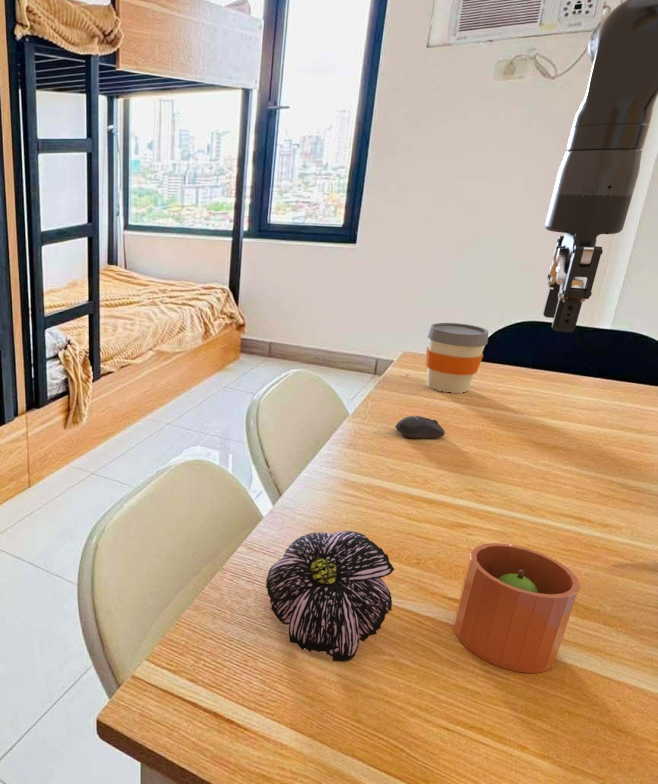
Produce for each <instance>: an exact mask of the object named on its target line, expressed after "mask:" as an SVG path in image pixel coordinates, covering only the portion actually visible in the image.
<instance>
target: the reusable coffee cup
mask: <svg viewBox="0 0 658 784" xmlns="http://www.w3.org/2000/svg"><path fill="white" fill-rule="evenodd" d="M427 338H428V346H427V347H426V353H425V354H426V355H425V366H426V367H427V369H426V371H427V372H426V386H427V387H428V388H429V387H430V389H431V388H432V390H434V389H435V390H434V391H437V390H438V392H441V391H443V392H442V393H447V392H451V393H450V394H464V393H463V392H465V393H467V392H468V390H469V389H470V385H471V384H472V381H473V378H474V375H475V374H477V373H478V370H479V367H480V366H481V362H482V360H483V358H484V353H483V352H484V349H485V347H486V345H488V341H489V330H488V329H486V328H484V327H480V326H476V325H472V324H467V323H457V322H437V323H433V324H431V325H430V328H429V331H428V335H427ZM466 391H467V392H466Z"/></svg>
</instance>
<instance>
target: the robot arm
mask: <svg viewBox="0 0 658 784" xmlns="http://www.w3.org/2000/svg"><path fill="white" fill-rule="evenodd" d="M587 55H588V59H589V60H590V62H591V63H592V64H593V65H592V68H591V72H590V77H589V81H588V84H587V89H586V92H585V96H584V98H583V99H582V101H581V102H580V104H579V105H578V107H577V109H576V112H575V114H574V117H573V121H572V123H571V128H570V132H569V137H568V140H567V145H566V149H565V150H566V151H565V152H564V155H563V158H562V160H561V163H560V165H559V168H558V171H557V174H556V178H555V182H554V187H553V191H552V195H551V198H550V204H549V208H548V212H547V215H546V219H545V223H544V228H545V229H546V230H547V231H549V232H552V233H553V232H554V233H562V234H564V235H558V237H557V238H556V241H555V242H556V245H555V246H554V249H553V253H552V254H553V255H552V260H551V263H550V266H549V272H548V274H547V276H546V278H547V288H548V291H547V296H546V299H545V302H544V303H545V304H544V307H543V311H542V314H543V316H544V317H545V318H549V319H552V324H551V328H552V330H553V331H555V332H561V333H572V332H573V333H574V331H575V330H576V326H577V323H578V319H579V316H580V312H581V308H582V305H583V303H585V301H586V300H589V299H590V297H592V292H593V291H592V290H593V286H594V282H595V279H596V275H597V271H598V267H599V264H600V259H601V256H602V255H603V253H604V250H603V246H596V245H597V238H598V236H600V235H616V234H619V233H621V232H622V231H623V229H624V226H625V222H626V221H627V220H626V219H627V216H628V212H629V209H630V205H631V202H632V198H633V194H634V191H635V187H636V185H637V181H638V177H639V173H640V169H641V159H642V154H643V149H644V146H645V143H646V139H647V136H648V132H649V128H650V124H651V121H652V117H653V112H654V107H655V103H656V101H657V98H658V0H624V1H622V2H621V3H619V4H618V5H617V6H616V7H615V8H613V9H612V10H611V11H610V12H609V13H608V14H607V15H606V16H604V17H603V18H602V19H601V20H600V22H598V23H597V25H596V26H595V27H594V29H593V31H592V32H591V34H590V36H589V39H588V43H587ZM574 286H579V287H574Z"/></svg>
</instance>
